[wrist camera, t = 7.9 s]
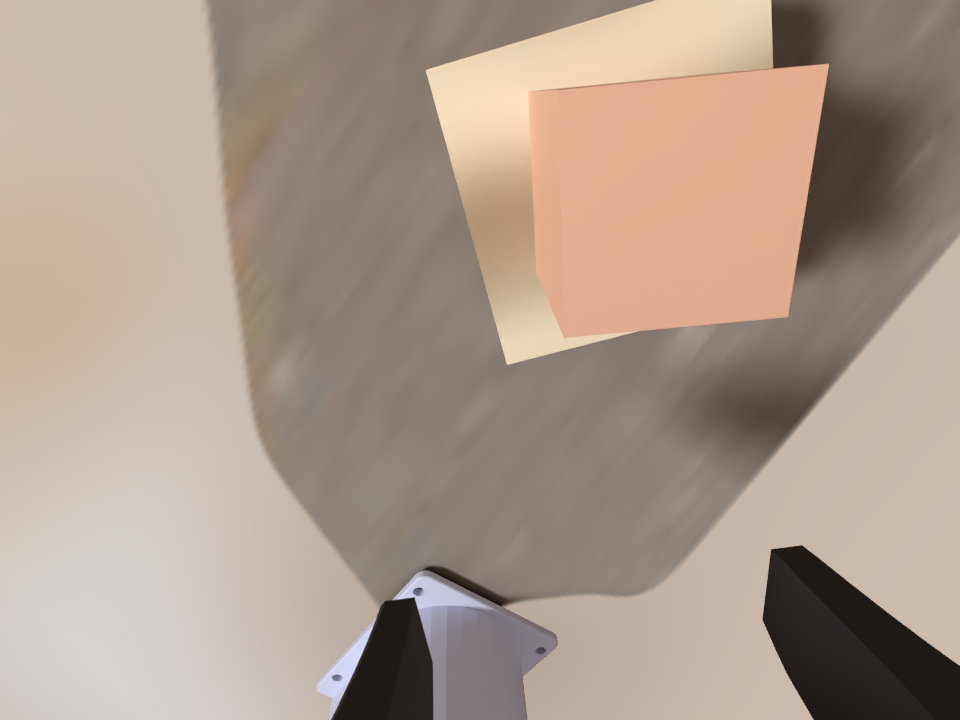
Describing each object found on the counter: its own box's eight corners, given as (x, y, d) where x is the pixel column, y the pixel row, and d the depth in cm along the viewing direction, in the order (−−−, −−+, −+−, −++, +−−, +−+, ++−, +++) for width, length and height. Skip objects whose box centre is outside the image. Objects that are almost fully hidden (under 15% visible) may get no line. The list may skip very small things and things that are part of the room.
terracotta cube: (700, 257, 15) (787, 317, 11) (536, 272, 15) (564, 338, 11) (716, 73, 13) (829, 63, 9) (528, 91, 13) (557, 90, 9)
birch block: (720, 257, 19) (780, 294, 16) (498, 315, 20) (507, 364, 16) (699, -6, 16) (770, -35, 12) (432, 74, 17) (426, 70, 13)
